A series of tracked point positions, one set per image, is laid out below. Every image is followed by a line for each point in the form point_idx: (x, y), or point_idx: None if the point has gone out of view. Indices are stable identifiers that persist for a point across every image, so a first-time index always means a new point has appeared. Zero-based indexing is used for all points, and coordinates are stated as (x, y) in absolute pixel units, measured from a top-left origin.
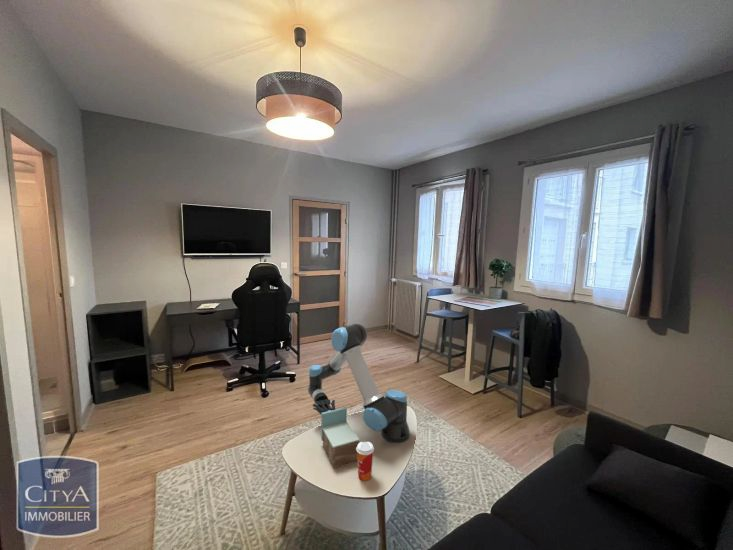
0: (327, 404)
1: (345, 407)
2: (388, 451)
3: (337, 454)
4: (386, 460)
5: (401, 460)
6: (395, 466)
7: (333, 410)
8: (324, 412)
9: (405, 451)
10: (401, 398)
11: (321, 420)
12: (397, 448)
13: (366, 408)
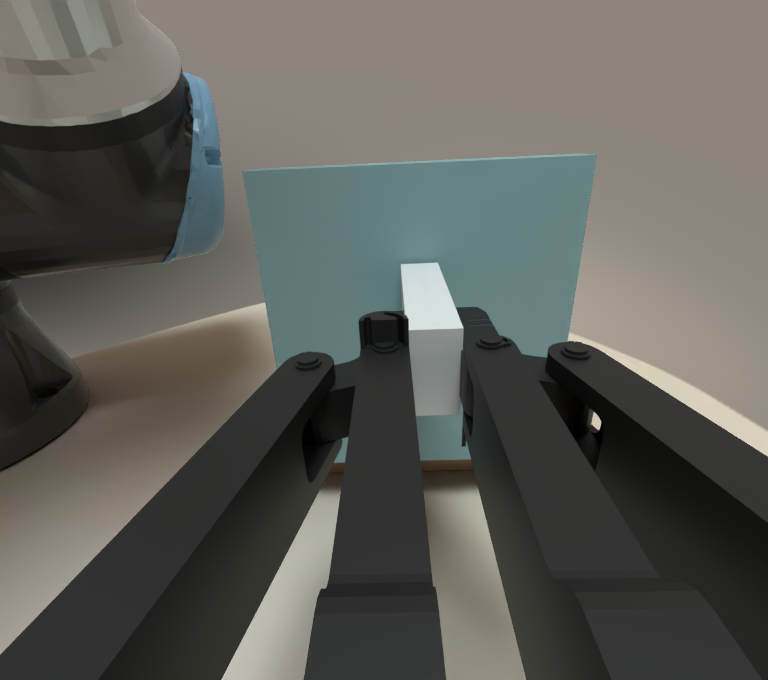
0: (400, 571)
1: (248, 170)
2: (176, 358)
3: None
4: (236, 334)
5: (188, 325)
6: (235, 316)
7: (424, 162)
8: (552, 156)
9: (119, 344)
10: None
11: (579, 263)
12: (122, 360)
13: (197, 86)
